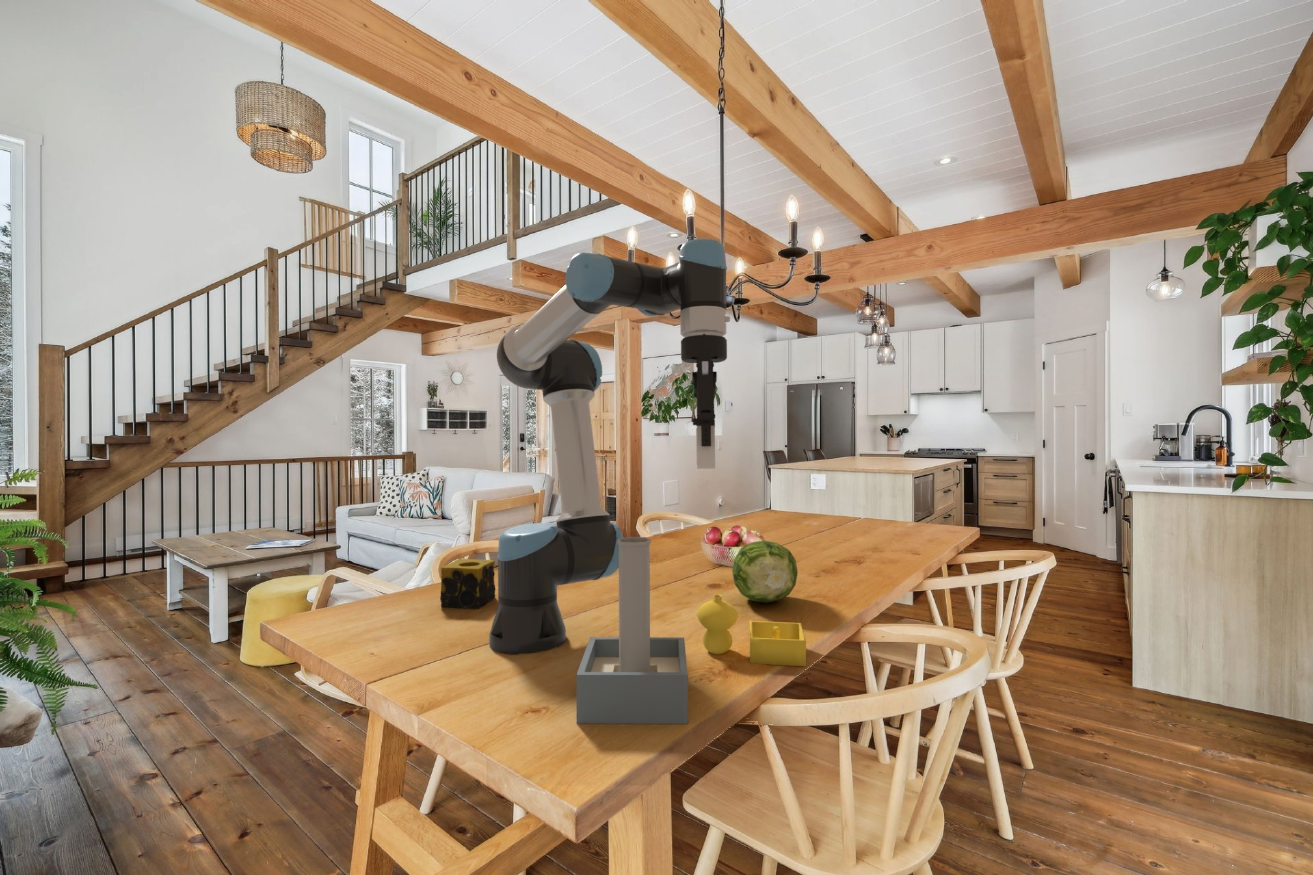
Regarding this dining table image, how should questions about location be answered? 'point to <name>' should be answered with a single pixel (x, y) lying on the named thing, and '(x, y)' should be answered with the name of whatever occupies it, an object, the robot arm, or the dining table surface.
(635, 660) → the tube
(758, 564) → the lettuce
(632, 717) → the box
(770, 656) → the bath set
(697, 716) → the dining table surface
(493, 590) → the yellow and black cube
